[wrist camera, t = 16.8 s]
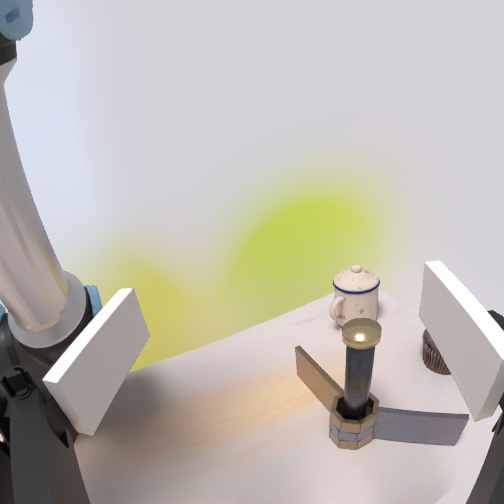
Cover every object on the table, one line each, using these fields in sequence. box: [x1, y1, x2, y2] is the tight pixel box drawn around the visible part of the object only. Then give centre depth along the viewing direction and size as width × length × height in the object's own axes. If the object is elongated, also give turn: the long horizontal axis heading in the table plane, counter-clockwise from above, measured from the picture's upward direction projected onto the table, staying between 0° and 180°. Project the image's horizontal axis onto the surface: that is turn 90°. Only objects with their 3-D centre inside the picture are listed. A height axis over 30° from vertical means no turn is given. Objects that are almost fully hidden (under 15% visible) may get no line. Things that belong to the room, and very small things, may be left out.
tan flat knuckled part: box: [295, 346, 379, 450], centre depth 40 cm, size 18×6×6 cm, turn 22°
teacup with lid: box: [330, 264, 380, 327], centre depth 58 cm, size 12×9×12 cm
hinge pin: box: [342, 318, 381, 421], centre depth 33 cm, size 4×4×18 cm
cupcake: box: [423, 329, 451, 375], centre depth 42 cm, size 10×10×10 cm
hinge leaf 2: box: [329, 405, 469, 445], centre depth 32 cm, size 18×6×6 cm, turn 62°
